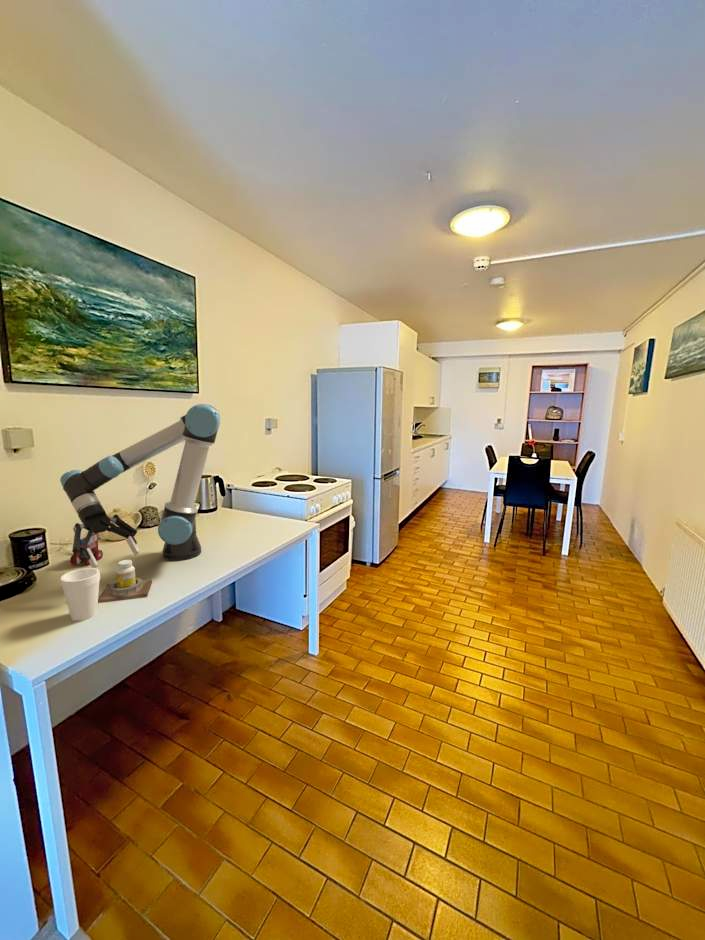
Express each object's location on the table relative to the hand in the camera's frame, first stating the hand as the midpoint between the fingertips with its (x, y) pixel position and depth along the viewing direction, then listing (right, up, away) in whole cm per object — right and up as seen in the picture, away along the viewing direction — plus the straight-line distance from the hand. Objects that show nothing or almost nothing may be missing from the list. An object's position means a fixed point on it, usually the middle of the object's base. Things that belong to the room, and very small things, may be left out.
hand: (117, 559), depth 129 cm
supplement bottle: (+3, -10, +1) cm, 11 cm away
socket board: (+3, -11, +1) cm, 11 cm away
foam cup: (-1, -14, -14) cm, 19 cm away
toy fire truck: (-27, -7, +24) cm, 36 cm away
